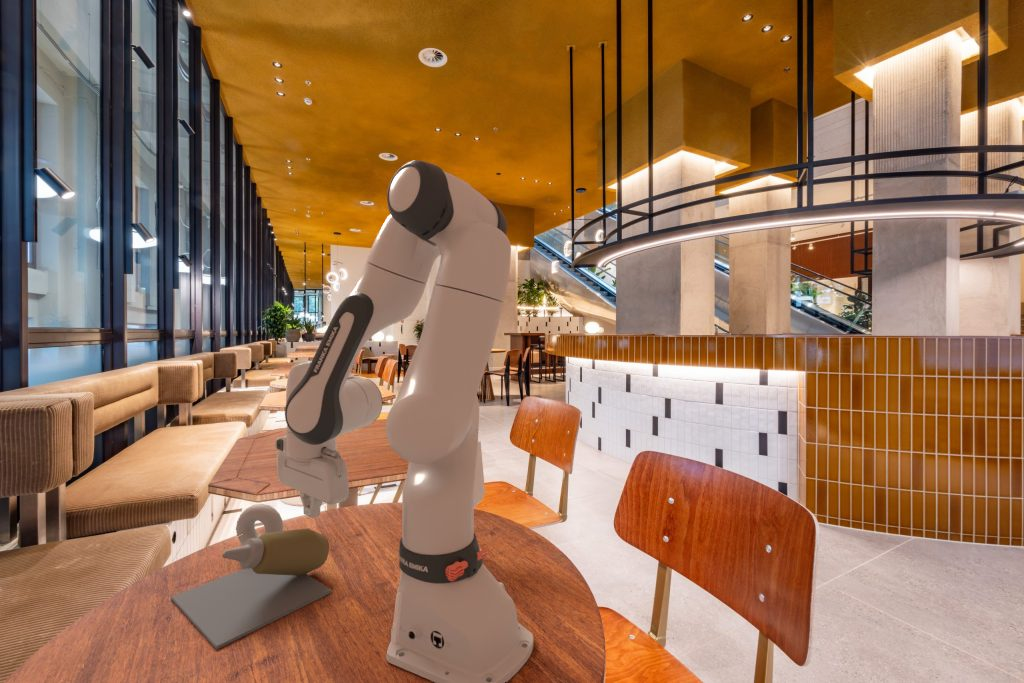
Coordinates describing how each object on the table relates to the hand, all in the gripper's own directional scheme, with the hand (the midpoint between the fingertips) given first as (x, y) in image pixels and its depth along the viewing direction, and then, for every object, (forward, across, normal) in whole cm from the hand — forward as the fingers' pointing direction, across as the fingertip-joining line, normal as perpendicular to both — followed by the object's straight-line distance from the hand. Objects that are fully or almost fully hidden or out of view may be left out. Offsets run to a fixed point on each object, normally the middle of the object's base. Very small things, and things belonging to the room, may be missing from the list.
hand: (311, 515), depth 85 cm
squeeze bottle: (+8, 0, -2) cm, 8 cm away
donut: (+11, +17, +2) cm, 21 cm away
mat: (+11, +1, +10) cm, 15 cm away
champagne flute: (+11, -19, -24) cm, 32 cm away
